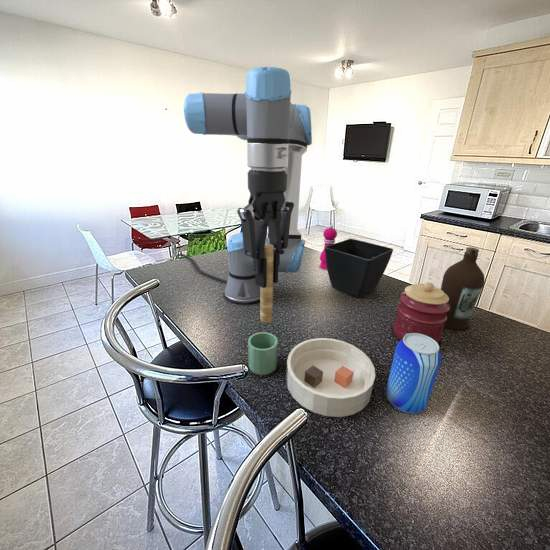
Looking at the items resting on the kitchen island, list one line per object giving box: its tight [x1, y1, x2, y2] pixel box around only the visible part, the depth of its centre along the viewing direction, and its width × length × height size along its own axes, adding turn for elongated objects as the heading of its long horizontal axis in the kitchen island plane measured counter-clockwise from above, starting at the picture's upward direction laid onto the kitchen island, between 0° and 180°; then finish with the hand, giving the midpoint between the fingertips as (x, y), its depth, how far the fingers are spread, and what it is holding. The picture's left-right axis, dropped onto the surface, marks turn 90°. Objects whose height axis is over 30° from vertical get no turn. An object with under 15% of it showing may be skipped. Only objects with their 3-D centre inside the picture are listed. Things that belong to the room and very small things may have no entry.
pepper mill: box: [319, 224, 338, 270], centre depth 131 cm, size 7×7×20 cm
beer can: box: [385, 333, 443, 414], centre depth 61 cm, size 8×8×16 cm
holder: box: [247, 331, 279, 376], centre depth 72 cm, size 7×7×8 cm
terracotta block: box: [334, 366, 354, 388], centre depth 68 cm, size 3×3×3 cm
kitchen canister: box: [392, 281, 450, 344], centre depth 84 cm, size 13×13×18 cm
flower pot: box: [325, 238, 394, 298], centre depth 113 cm, size 19×19×17 cm
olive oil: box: [440, 246, 485, 331], centre depth 90 cm, size 11×11×25 cm
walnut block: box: [304, 366, 323, 388], centre depth 68 cm, size 3×3×3 cm
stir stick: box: [259, 244, 274, 324], centre depth 64 cm, size 3×3×18 cm
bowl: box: [285, 337, 376, 418], centre depth 68 cm, size 20×20×6 cm
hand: (266, 283), depth 64 cm, fingers closed on stir stick, 3 cm apart
